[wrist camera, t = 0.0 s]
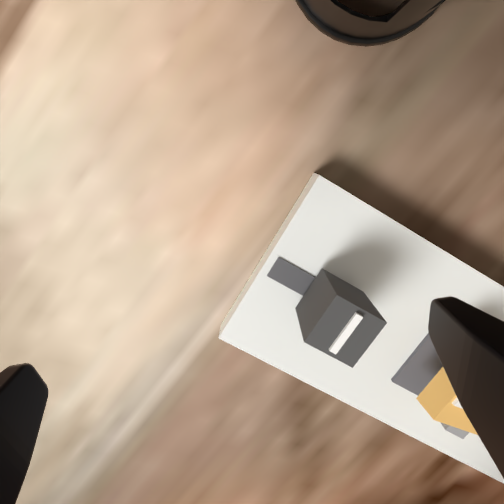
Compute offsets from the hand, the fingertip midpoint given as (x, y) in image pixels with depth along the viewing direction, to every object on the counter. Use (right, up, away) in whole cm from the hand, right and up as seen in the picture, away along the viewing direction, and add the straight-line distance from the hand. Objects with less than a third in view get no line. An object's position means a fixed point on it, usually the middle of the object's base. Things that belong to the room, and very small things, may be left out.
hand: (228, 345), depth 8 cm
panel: (+17, -6, +18) cm, 25 cm away
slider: (+5, -1, +14) cm, 15 cm away
